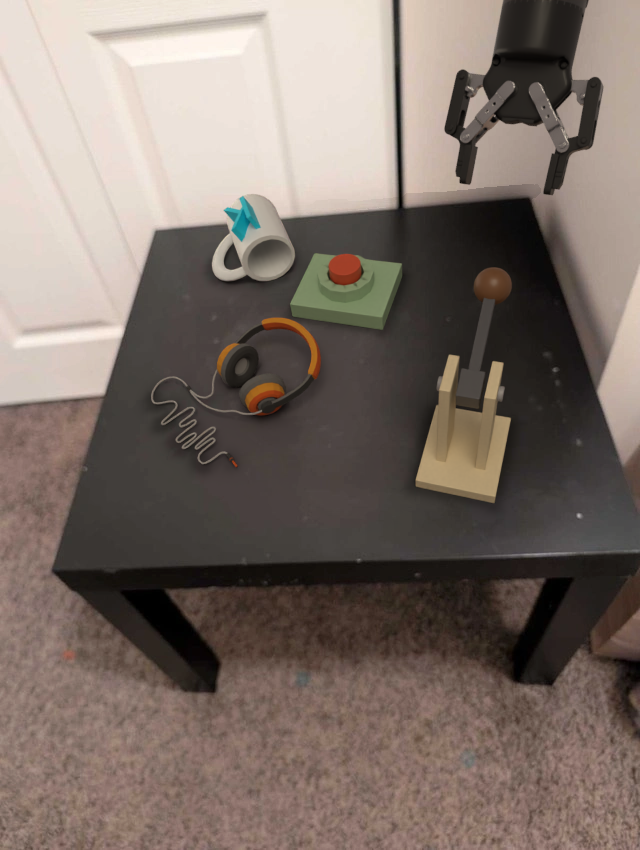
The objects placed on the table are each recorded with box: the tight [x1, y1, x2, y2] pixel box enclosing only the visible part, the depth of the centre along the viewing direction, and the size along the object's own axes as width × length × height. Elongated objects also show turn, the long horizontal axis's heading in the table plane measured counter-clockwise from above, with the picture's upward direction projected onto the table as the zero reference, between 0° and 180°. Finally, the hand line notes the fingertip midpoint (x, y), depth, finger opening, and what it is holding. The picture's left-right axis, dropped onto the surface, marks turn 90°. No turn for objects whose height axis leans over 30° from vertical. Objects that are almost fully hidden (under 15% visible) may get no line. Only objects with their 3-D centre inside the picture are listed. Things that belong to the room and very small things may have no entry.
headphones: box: [150, 317, 322, 468], centre depth 77 cm, size 17×5×20 cm
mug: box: [211, 193, 296, 282], centre depth 91 cm, size 12×9×12 cm
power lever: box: [455, 266, 513, 410], centre depth 63 cm, size 14×4×4 cm, turn 162°
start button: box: [329, 253, 362, 285], centre depth 83 cm, size 4×4×2 cm
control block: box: [289, 252, 403, 331], centre depth 85 cm, size 12×10×4 cm
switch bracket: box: [415, 354, 512, 504], centre depth 65 cm, size 10×8×13 cm
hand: (505, 189), depth 68 cm, fingers open, 8 cm apart
